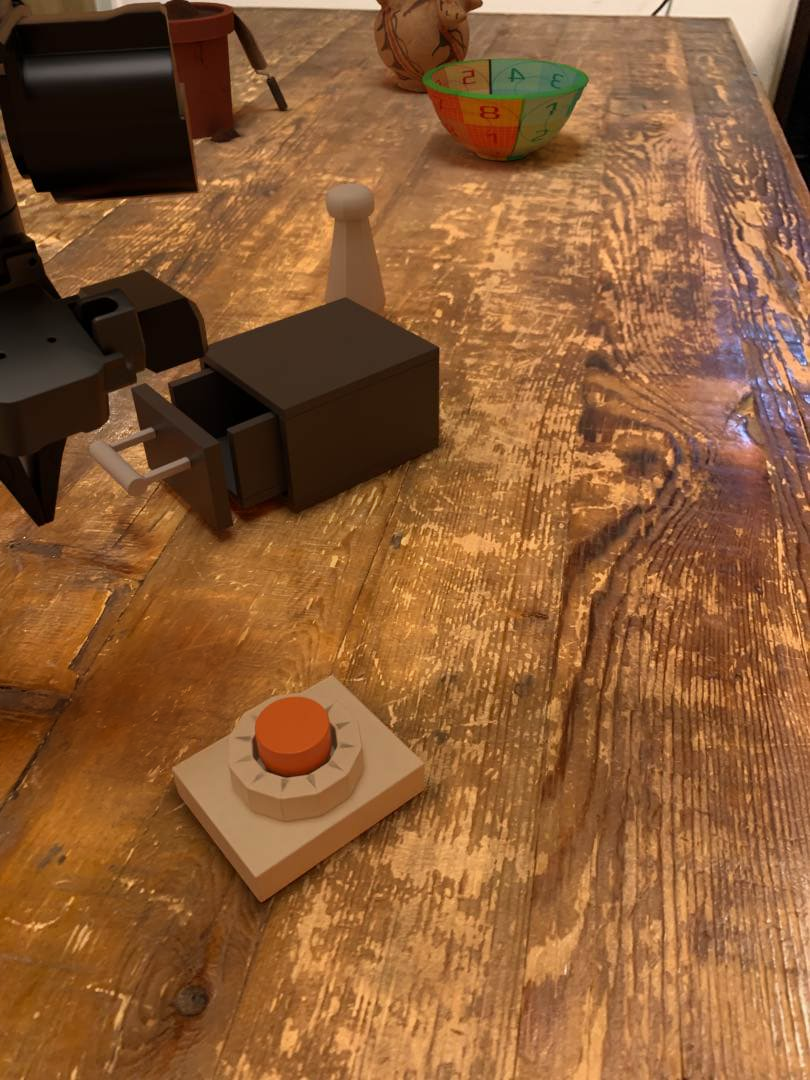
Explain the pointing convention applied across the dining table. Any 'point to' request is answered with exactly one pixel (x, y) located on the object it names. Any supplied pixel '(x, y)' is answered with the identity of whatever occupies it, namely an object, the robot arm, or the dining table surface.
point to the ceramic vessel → (422, 36)
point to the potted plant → (212, 63)
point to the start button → (293, 736)
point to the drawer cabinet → (337, 394)
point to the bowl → (504, 103)
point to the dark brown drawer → (202, 446)
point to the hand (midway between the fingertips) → (42, 520)
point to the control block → (298, 791)
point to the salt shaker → (353, 249)
